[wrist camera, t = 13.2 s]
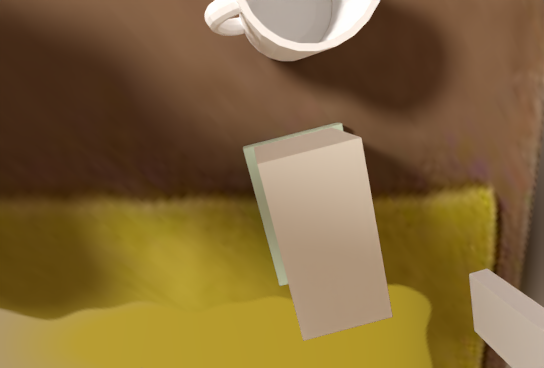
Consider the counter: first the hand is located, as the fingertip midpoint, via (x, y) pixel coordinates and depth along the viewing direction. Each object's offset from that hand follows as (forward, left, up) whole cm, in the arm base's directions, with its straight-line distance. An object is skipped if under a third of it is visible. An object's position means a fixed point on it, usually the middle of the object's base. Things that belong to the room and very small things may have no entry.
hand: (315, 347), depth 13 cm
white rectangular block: (+3, -1, -19) cm, 19 cm away
